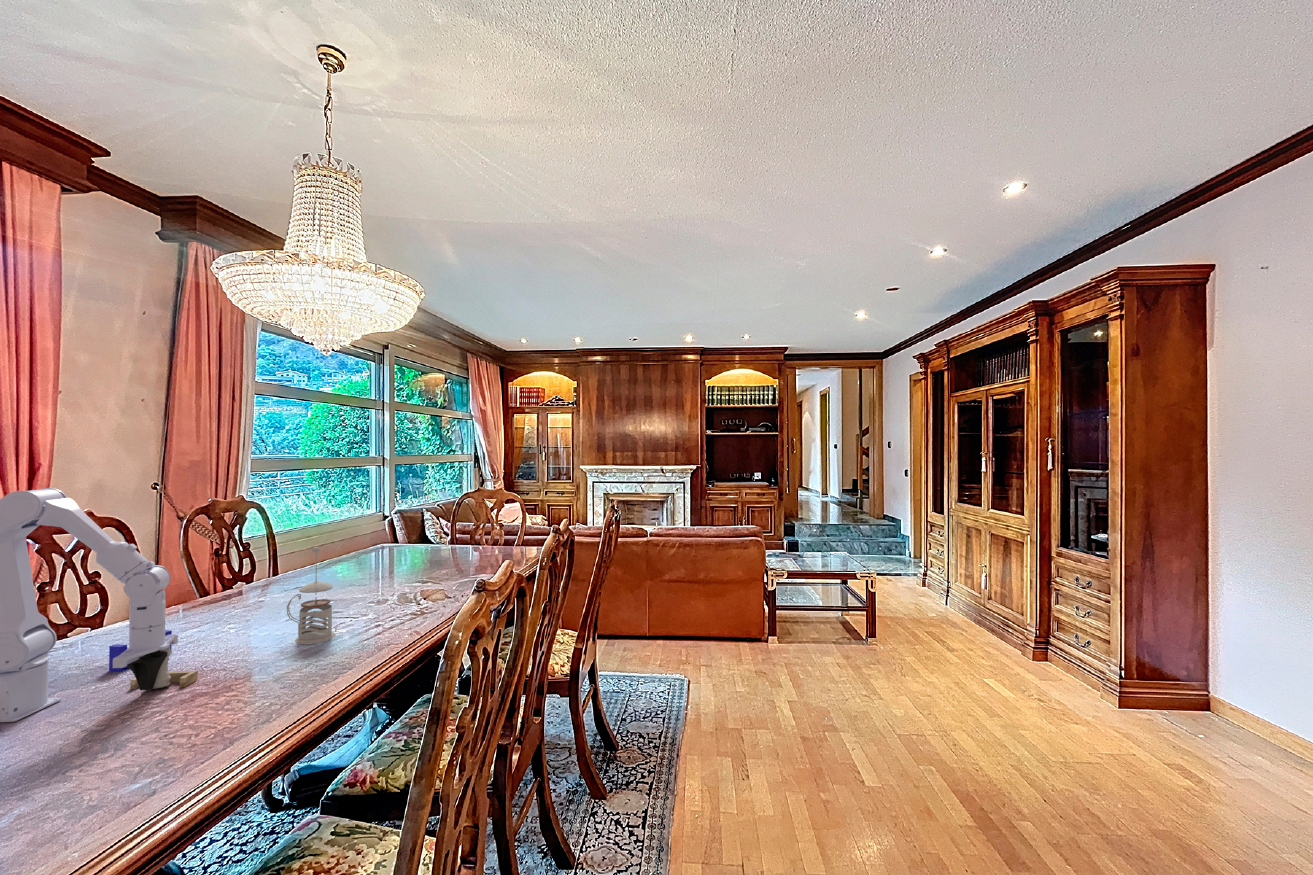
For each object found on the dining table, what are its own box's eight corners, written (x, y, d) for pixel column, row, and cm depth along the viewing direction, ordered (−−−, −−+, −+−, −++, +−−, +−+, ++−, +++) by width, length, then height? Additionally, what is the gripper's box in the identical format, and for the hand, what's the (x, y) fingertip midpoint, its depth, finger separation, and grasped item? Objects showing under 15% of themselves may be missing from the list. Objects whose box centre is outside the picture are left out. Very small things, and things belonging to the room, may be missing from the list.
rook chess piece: (169, 683, 125) (174, 645, 127) (172, 686, 122) (177, 647, 124) (142, 687, 122) (148, 648, 124) (144, 690, 119) (150, 650, 121)
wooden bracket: (184, 686, 123) (184, 677, 123) (130, 689, 122) (130, 679, 122) (197, 679, 127) (197, 670, 127) (145, 681, 126) (145, 672, 126)
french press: (332, 641, 152) (333, 548, 152) (282, 646, 148) (283, 551, 148) (338, 630, 161) (339, 543, 162) (291, 635, 157) (292, 545, 157)
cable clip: (156, 653, 144) (156, 629, 144) (171, 654, 143) (171, 630, 143) (103, 671, 132) (104, 645, 132) (119, 672, 131) (120, 646, 132)
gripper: (139, 635, 113) (138, 703, 113) (192, 614, 127) (191, 674, 127) (101, 636, 112) (100, 705, 112) (159, 615, 127) (158, 675, 126)
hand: (146, 689), depth 119 cm, fingers closed
